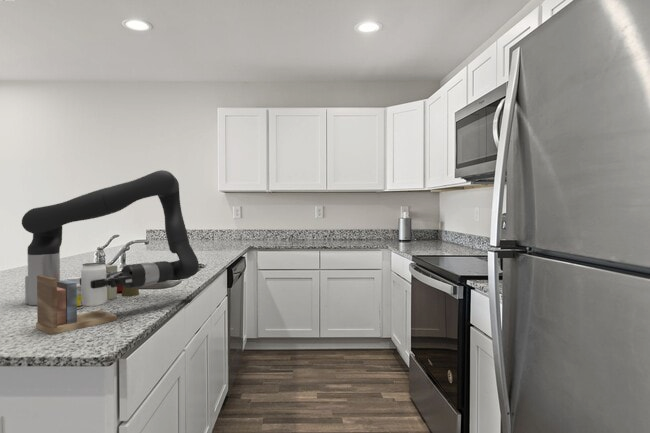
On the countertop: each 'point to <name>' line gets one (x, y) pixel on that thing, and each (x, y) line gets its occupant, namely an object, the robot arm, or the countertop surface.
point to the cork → (130, 291)
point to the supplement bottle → (79, 291)
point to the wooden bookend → (63, 307)
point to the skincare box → (111, 291)
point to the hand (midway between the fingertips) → (85, 283)
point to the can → (87, 275)
